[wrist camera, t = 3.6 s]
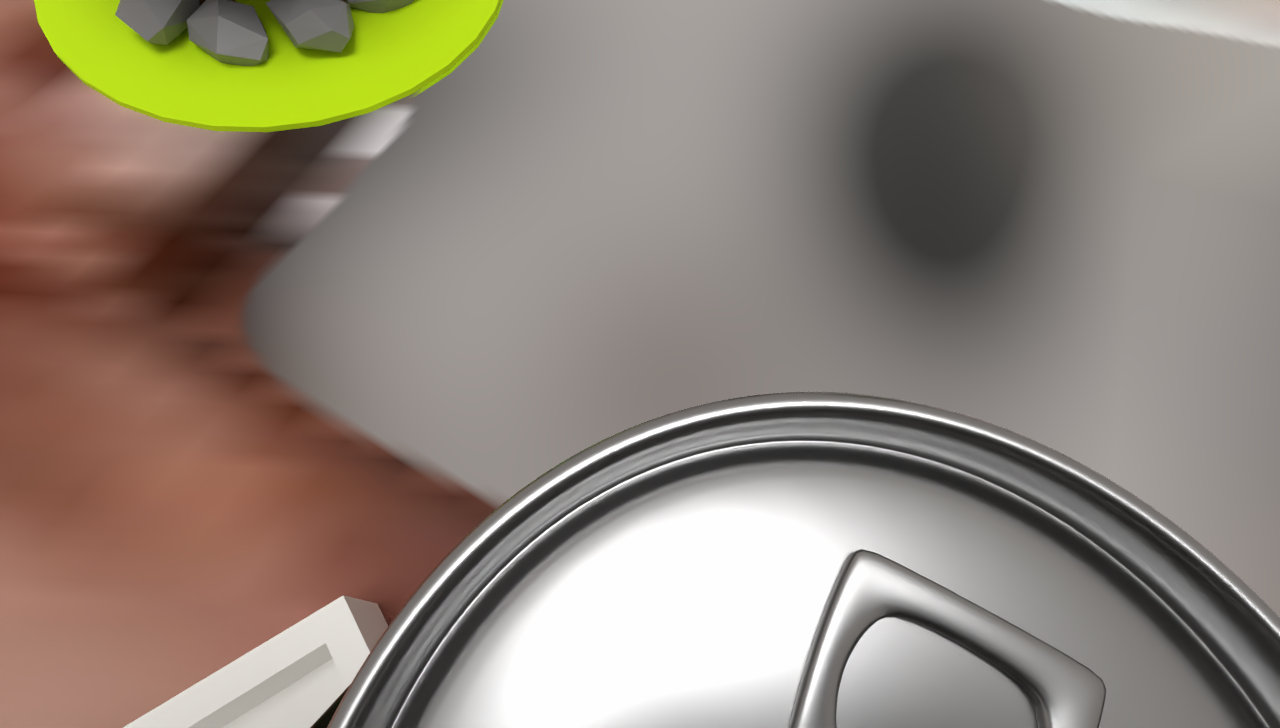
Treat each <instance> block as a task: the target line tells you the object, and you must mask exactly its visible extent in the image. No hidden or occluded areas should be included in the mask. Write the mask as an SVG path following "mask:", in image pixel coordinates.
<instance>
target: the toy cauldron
mask: <svg viewBox="0 0 1280 728" xmlns="http://www.w3.org/2000/svg"><path fill="white" fill-rule="evenodd" d="M503 1H504V0H34V2H35V8H36V13H37V19H38V23H39V25H40V26H41V28H42V30H43V32H44V34H45V35H46V37H47V39H48V41H49V43H50V45H51V46H52V48H53V50H54V52H55V54H56V55H57V57H58V58H59V59H60V60H61V61H62V62H63V63H64V64H65V65H66V66H67V67H68V68H69V69H70V70H71V71H72V72H73V73H74V74H75V75H76V76H77V77H78V78H79V79H80V80H81V81H82V82H83V83H84V84H86V85H87V86H89V87H91V88H92V89H94V90H96V91H97V92H99V93H101V94H102V95H104V96H106V97H107V98H109V99H111V100H112V101H114V102H115V103H117V104H119V105H120V106H123V107H126V108H128V109H131V110H134V111H137V112H139V113H142V114H145V115H148V116H150V117H153V118H156V119H159V120H161V121H164V122H169V123H174V124H180V125H186V126H191V127H197V128H202V129H208V130H214V131H244V132H272V131H281V130H289V129H298V128H306V127H314V126H321V125H325V124H329V123H332V122H336V121H340V120H344V119H347V118H351V117H355V116H359V115H362V114H366V113H369V112H372V111H374V110H376V109H379V108H381V107H383V106H386V105H388V104H390V103H392V102H395V101H397V100H399V99H402V98H404V97H406V96H409V95H411V94H413V93H414V92H416V91H417V94H416V96H417V95H418V94H420V93H422V92H423V91H425V90H426V89H428V88H429V87H431V86H432V85H434V84H435V83H437V82H438V81H440V80H441V79H443V78H445V77H446V76H448V75H449V74H451V73H452V72H453V71H454V70H455V69H456V68H457V67H458V66H459V65H460V64H461V63H462V62H463V61H464V60H465V59H466V58H467V57H468V56H469V55H470V54H472V52H474V51H475V50H476V49H477V48H478V47H479V45H480V44H481V42H482V41H483V39H484V38H485V36H486V35H487V33H488V32H489V30H490V29H491V27H492V26H493V24H494V23H495V21H496V20H497V18H498V15H499V13H500V10H501V7H502V4H503Z"/></svg>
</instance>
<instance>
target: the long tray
mask: <svg viewBox="0 0 1280 728" xmlns="http://www.w3.org/2000/svg"><path fill="white" fill-rule="evenodd" d="M387 627H388V624H387V622H386V620H385V618H384V616H383V614H382V612H381V610H380V608H379V606H378V604H377V603H373V602H369V601H365V600H360V599H356V598H352V597H348V596H341V597H340V598H338V599H336V600H335V601H333V602H331V603H330V604H328V605H326V606H325V607H323V608H321V609H320V610H318V611H316V612H315V613H313V614H311V615H310V616H308V617H306V618H305V619H303V620H301V621H300V622H298V623H296V624H295V625H293V626H291V627H290V628H288V629H286V630H285V631H283V632H281V633H280V634H278V635H276V636H275V637H273V638H271V639H270V640H268V641H266V642H265V643H263V644H261V645H260V646H258V647H256V648H255V649H253V650H251V651H250V652H248V653H246V654H245V655H243V656H241V657H240V658H238V659H236V660H235V661H233V662H231V663H230V664H228V665H226V666H225V667H223V668H221V669H220V670H218V671H216V672H215V673H213V674H211V675H210V676H208V677H206V678H205V679H203V680H201V681H200V682H198V683H196V684H195V685H193V686H191V687H190V688H188V689H186V690H185V691H183V692H181V693H180V694H178V695H176V696H175V697H173V698H171V699H170V700H168V701H166V702H165V703H163V704H161V705H160V706H158V707H156V708H155V709H153V710H151V711H150V712H148V713H146V714H145V715H143V716H141V717H140V718H138V719H136V720H135V721H133V722H131V723H130V724H128V725H126V726H125V727H123V728H310V727H311V726H312V725H313V724H314V723H315V722H316V721H317V720H318V719H319V718H320V716H321V715H322V714H323V713H324V712H325V711H326V710H327V709H328V708H329V707H330V706H331V705H332V703H333V702H334V701H335V700H336V699H337V698H338V697H339V696H340V695H341V694H342V693H343V692H344V690H345V689H346V688H347V687H348V686H349V685H350V684H351V683H352V681H353V679H354V678H355V676H356V674H357V673H358V671H359V669H360V668H361V666H362V665H363V663H364V662H365V660H366V658H367V657H368V655H369V654H370V652H371V650H372V649H373V647H374V646H375V644H376V643H377V642H378V640H379V639H380V637H381V636H382V634H383V633H384V632H385V630H386V629H387Z"/></svg>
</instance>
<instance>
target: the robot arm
mask: <svg viewBox="0 0 1280 728" xmlns="http://www.w3.org/2000/svg"><path fill="white" fill-rule="evenodd" d="M350 685H351V684H350ZM350 685H349V686H350ZM349 686H348V687H347V688H346V689H345V690H344V692H343V693H342V694H341V695H340V696H339V697H338V698H337V699H336V700H335V701H334V702H333V703H332V705H331V706H330V707H329V708H328V709H327V710H326V711H325V712H324V713H323V714H322V715H321V716H320V718H319V719H318V720H317V721H316V722H315V723H314V724H313V725H312V726H311V727H310V728H327V727H328V725H329V723H330V721H331V719H332V717H333V715H334V713H335V712H336V710H337V708H338V706H339V704H340V702H341V700H342V698H343V697H344V695H345V693H346V692H347V690H348V688H349Z"/></svg>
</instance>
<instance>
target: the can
mask: <svg viewBox="0 0 1280 728" xmlns="http://www.w3.org/2000/svg"><path fill="white" fill-rule="evenodd" d="M327 728H1280V616H1278V615H1277V613H1276V612H1275V611H1274V610H1273V609H1272V608H1271V607H1270V606H1269V605H1268V604H1267V603H1266V602H1265V601H1264V600H1263V599H1262V598H1261V597H1260V596H1259V595H1258V594H1256V592H1255V591H1254V590H1253V589H1251V588H1250V587H1249V586H1248V585H1247V584H1246V583H1245V582H1244V581H1243V580H1242V579H1241V578H1240V577H1239V576H1238V575H1237V574H1235V573H1234V572H1233V571H1232V570H1231V569H1230V568H1229V567H1228V566H1226V565H1225V564H1224V563H1223V562H1222V561H1221V560H1220V559H1219V558H1217V557H1216V556H1215V555H1214V554H1213V553H1211V552H1210V551H1209V550H1208V549H1206V548H1205V547H1204V546H1203V545H1202V544H1201V543H1199V542H1198V541H1197V540H1196V539H1195V538H1193V537H1192V536H1190V535H1189V534H1188V533H1187V532H1186V531H1184V530H1183V529H1182V528H1180V527H1179V526H1178V525H1176V524H1175V523H1174V522H1173V521H1171V520H1169V519H1168V518H1167V517H1166V516H1164V515H1163V514H1161V513H1160V512H1159V511H1157V510H1156V509H1154V508H1153V507H1152V506H1150V505H1149V504H1147V503H1146V502H1144V501H1143V500H1141V499H1140V498H1138V497H1137V496H1135V495H1134V494H1132V493H1131V492H1129V491H1128V490H1126V489H1124V488H1123V487H1121V486H1120V485H1118V484H1116V483H1115V482H1113V481H1111V480H1110V479H1108V478H1106V477H1105V476H1103V475H1101V474H1100V473H1098V472H1096V471H1094V470H1092V469H1091V468H1089V467H1087V466H1085V465H1083V464H1082V463H1080V462H1078V461H1076V460H1074V459H1072V458H1070V457H1068V456H1066V455H1064V454H1062V453H1060V452H1058V451H1056V450H1054V449H1052V448H1050V447H1048V446H1045V445H1043V444H1041V443H1039V442H1037V441H1034V440H1032V439H1030V438H1027V437H1025V436H1023V435H1020V434H1018V433H1015V432H1013V431H1010V430H1008V429H1005V428H1002V427H999V426H997V425H994V424H991V423H988V422H986V421H983V420H980V419H977V418H973V417H970V416H967V415H964V414H961V413H956V412H953V411H950V410H946V409H942V408H938V407H934V406H930V405H925V404H921V403H916V402H911V401H906V400H900V399H894V398H887V397H881V396H872V395H864V394H853V393H836V392H790V393H773V394H764V395H754V396H747V397H740V398H733V399H728V400H722V401H717V402H712V403H708V404H703V405H699V406H695V407H691V408H687V409H684V410H681V411H677V412H674V413H670V414H667V415H664V416H661V417H658V418H655V419H652V420H649V421H647V422H644V423H641V424H639V425H636V426H634V427H631V428H629V429H627V430H624V431H622V432H620V433H617V434H615V435H613V436H611V437H609V438H606V439H604V440H602V441H600V442H598V443H596V444H594V445H593V446H591V447H588V448H586V449H584V450H583V451H581V452H579V453H577V454H576V455H574V456H572V457H570V458H569V459H567V460H565V461H564V462H562V463H560V464H559V465H557V466H556V467H554V468H552V469H551V470H549V471H547V472H546V473H544V474H543V475H541V476H540V477H538V478H537V479H536V480H534V481H533V482H531V483H530V484H528V485H527V486H526V487H524V488H523V489H521V490H520V491H519V492H517V493H516V494H515V495H514V496H512V497H511V498H510V499H508V500H507V501H506V502H504V503H503V504H502V505H501V506H499V507H498V508H497V509H496V510H495V511H494V512H492V513H491V514H490V515H489V516H488V517H487V518H485V519H484V520H483V521H482V522H481V523H480V524H479V525H477V526H476V527H475V528H474V529H473V530H472V531H471V532H470V533H469V534H468V535H467V536H466V537H465V538H463V539H462V540H461V541H460V542H459V543H458V545H457V546H456V547H455V548H454V549H453V550H452V551H451V552H450V553H449V554H448V555H447V556H446V557H445V558H444V559H443V560H442V561H441V562H440V563H439V564H438V565H437V567H436V568H435V569H434V570H433V571H432V572H431V573H430V574H429V575H428V576H427V578H426V579H425V580H424V581H423V582H422V584H421V585H420V586H419V587H418V588H417V590H416V591H415V592H414V593H413V594H412V596H411V597H410V598H409V599H408V600H407V602H406V603H405V604H404V606H403V607H402V608H401V610H400V611H399V612H398V614H397V615H396V616H395V618H394V619H393V620H392V622H391V623H390V624H389V626H388V627H387V629H386V630H385V632H384V633H383V634H382V636H381V637H380V639H379V640H378V642H377V643H376V644H375V646H374V647H373V649H372V650H371V652H370V654H369V655H368V657H367V658H366V660H365V662H364V663H363V665H362V666H361V668H360V669H359V671H358V673H357V674H356V676H355V678H354V679H353V681H352V683H351V685H350V686H349V688H348V690H347V692H346V693H345V695H344V697H343V698H342V700H341V702H340V704H339V706H338V708H337V710H336V712H335V713H334V715H333V717H332V719H331V721H330V723H329V725H328V727H327Z"/></svg>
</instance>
